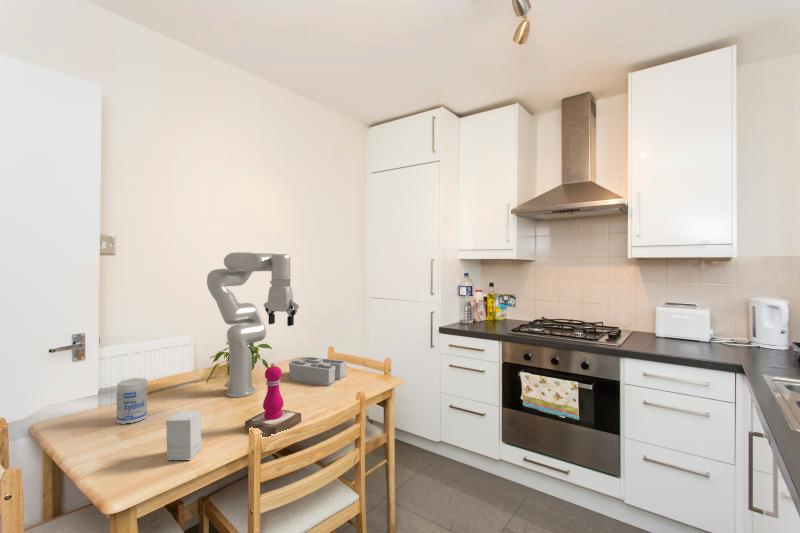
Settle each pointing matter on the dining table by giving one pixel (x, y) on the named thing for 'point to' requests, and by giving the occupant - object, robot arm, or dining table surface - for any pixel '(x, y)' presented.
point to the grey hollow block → (316, 370)
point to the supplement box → (183, 435)
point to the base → (274, 422)
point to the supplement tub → (131, 400)
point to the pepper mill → (273, 393)
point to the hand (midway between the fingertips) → (281, 324)
